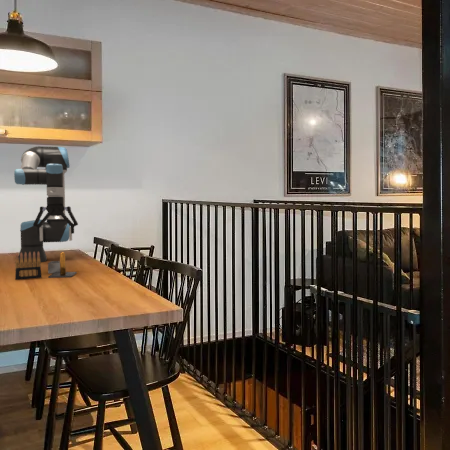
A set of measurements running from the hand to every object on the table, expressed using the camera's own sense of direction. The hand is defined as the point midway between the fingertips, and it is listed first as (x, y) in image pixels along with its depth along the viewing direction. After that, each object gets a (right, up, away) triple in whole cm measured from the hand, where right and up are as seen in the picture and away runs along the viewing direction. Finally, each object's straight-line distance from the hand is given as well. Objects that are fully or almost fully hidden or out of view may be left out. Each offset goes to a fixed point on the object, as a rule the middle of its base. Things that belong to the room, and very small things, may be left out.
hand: (56, 240), depth 227 cm
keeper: (+6, -16, -8) cm, 19 cm away
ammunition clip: (-6, -17, -16) cm, 24 cm away
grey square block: (0, -15, +1) cm, 15 cm away
